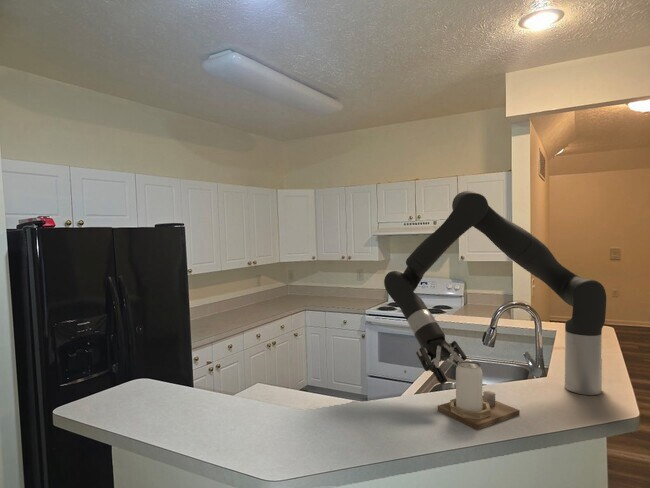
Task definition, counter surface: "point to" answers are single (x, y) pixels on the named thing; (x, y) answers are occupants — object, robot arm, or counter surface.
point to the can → (469, 386)
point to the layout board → (480, 412)
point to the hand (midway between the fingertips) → (456, 379)
